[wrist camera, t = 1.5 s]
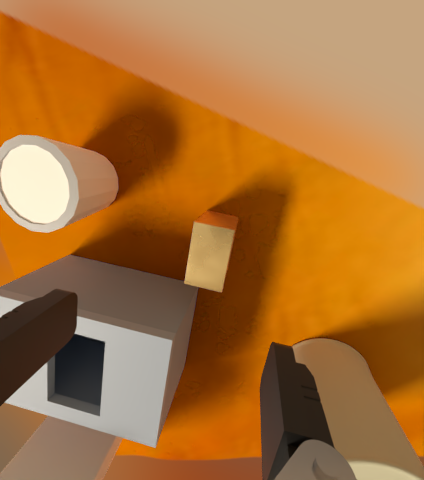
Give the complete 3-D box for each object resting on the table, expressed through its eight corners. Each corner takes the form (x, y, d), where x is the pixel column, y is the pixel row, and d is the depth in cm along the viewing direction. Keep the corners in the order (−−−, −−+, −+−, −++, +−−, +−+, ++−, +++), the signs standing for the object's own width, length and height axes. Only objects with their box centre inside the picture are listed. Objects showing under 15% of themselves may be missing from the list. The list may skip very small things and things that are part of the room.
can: (270, 339, 27) (282, 466, 15) (369, 335, 25) (465, 474, 14) (279, 412, 29) (295, 572, 18) (370, 413, 27) (454, 591, 16)
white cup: (78, 127, 24) (11, 111, 18) (138, 174, 25) (94, 176, 18) (47, 187, 26) (-24, 194, 20) (102, 230, 27) (52, 251, 20)
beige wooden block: (239, 216, 24) (234, 230, 19) (228, 266, 26) (221, 292, 20) (207, 210, 24) (193, 221, 19) (198, 260, 26) (184, 283, 21)
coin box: (199, 284, 26) (172, 340, 18) (184, 365, 29) (155, 447, 21) (69, 254, 28) (-13, 292, 19) (67, 334, 31) (-5, 399, 22)
